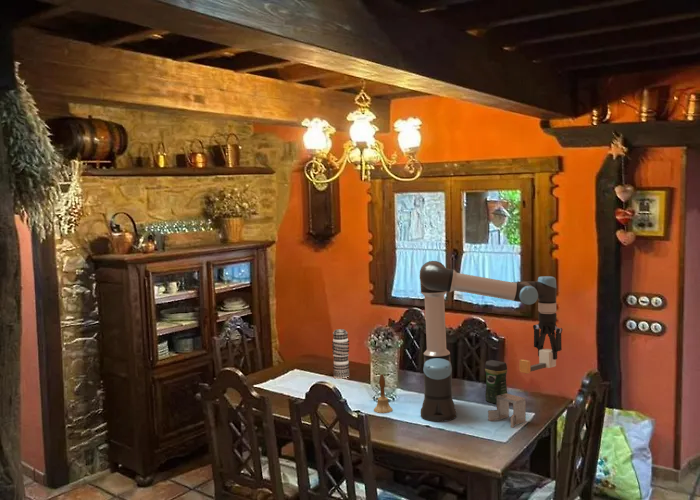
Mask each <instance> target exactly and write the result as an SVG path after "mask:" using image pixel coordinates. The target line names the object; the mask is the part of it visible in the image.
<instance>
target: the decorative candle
mask: <svg viewBox="0 0 700 500" xmlns="http://www.w3.org/2000/svg"><path fill="white" fill-rule="evenodd" d="M348 333H349V332H348V331H346V330H345V329H343V328H339V329H335V330H334V331H333V332H332V334H333V338H332V341H331V343H332V344H331V346H332V347H331V349H332V356H333V364H332V366H333V370H332V371H333V373H332V374H333V378H334V379H336V378H337V380H343V379H342V378H346V379H348V378H347V377H349V376H350V362H349V356H350V354H349V352H350V340H349V337H348V335H349V334H348ZM349 378H350V377H349Z"/></svg>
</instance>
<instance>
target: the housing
mask: <svg viewBox="0 0 700 500" xmlns="http://www.w3.org/2000/svg"><path fill="white" fill-rule="evenodd" d="M510 403H511V404H512V415H511V416H510ZM526 405H527V404H526V397H523V396H517V395H514V394H510V393H508V392H507V393H505V394H502V395H498V396H497V404H496V409H493V410H492V409H491V410H488V411H487V418H488V419H487V420H488V421H489V422H490V421H491V422H493V421H500V420H503V419H507V418H509V417H510V429H511V428H512V429H513V428H514V427H515V426H516V425H519V424H523V423H526V421H527V420H526V417H527V416H526V412H527V411H526V409H527V407H526Z"/></svg>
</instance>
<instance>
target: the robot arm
mask: <svg viewBox="0 0 700 500" xmlns="http://www.w3.org/2000/svg"><path fill="white" fill-rule="evenodd" d="M419 282H420V293H421V294H422V295H423V296H424V314H425V315H424V316H425V334H426V336H425V337H426V350H425V351H424V352H423V368H422V369H423V385H424V386H423V388H424V389H423V394H424V396H423V402H422V405H421V408H420V417H421V419H423V420H427V421H431V422H448V421H452V420H454V419H456V418H457V409H456V407H455V404H454V400H453V385H452V384H453V383H452V380H453V379H452V372H453V367H452V363H451V352H450V350H449V349H447V334H446V333H447V331H446V311H445V310H446V309H445V308H446V307H445V305H446V304H445V295H446V293H452V292H453V291H456V292H461V293H467V294H471V295H477V296H484V297H490V298H494V299H501V300H507V301H513V302H517V303H522V304H524V305H528V306H529V305H533V304H535V303H536V302H537V301H538V302H537V303H538V304H537V305H538V306H537V308H538V309H537V311H538V313H537V314H538V324H533V326H532V327H533V347H534V348H536V349H537V357H538V358H539V350H542V349H545V348H544V345H545V340H546V336H547V337H548V338H549V341H550V349H552V351H551V368H555V367H557V360H558V352H561V351H562V332H563V328H562V327H559V326H558V325H557V279H556V277H554V276H549V275H548V276H547V275H546V276H544V275H543V276H538V278H537V280H536V281H518V280H517V281H506V280H500V279H494V278H489V277H483V276H477V275H473V274H472V275H471V274H465V273H462V272H457V271H456V270H455V269H451V268H448V267H446V266H445V265H444V264H443V263H442V262H440V261H437V260H430V261H427V262H424V263H423V265H422V266H421V267H420V270H419Z"/></svg>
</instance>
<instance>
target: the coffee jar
mask: <svg viewBox="0 0 700 500" xmlns="http://www.w3.org/2000/svg"><path fill="white" fill-rule="evenodd" d="M484 371H485V378H486V380H485V397H484V398H485V399H484V400H485V401H486V402H489V403H493V404H495V405H497V396H498V395H502V394H505V393H507V394H508V389H507V388H508V387H507V373H508V365H507V363H506V362H505V361H498V360H493V359H490V360H486V362H485V363H484Z"/></svg>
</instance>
